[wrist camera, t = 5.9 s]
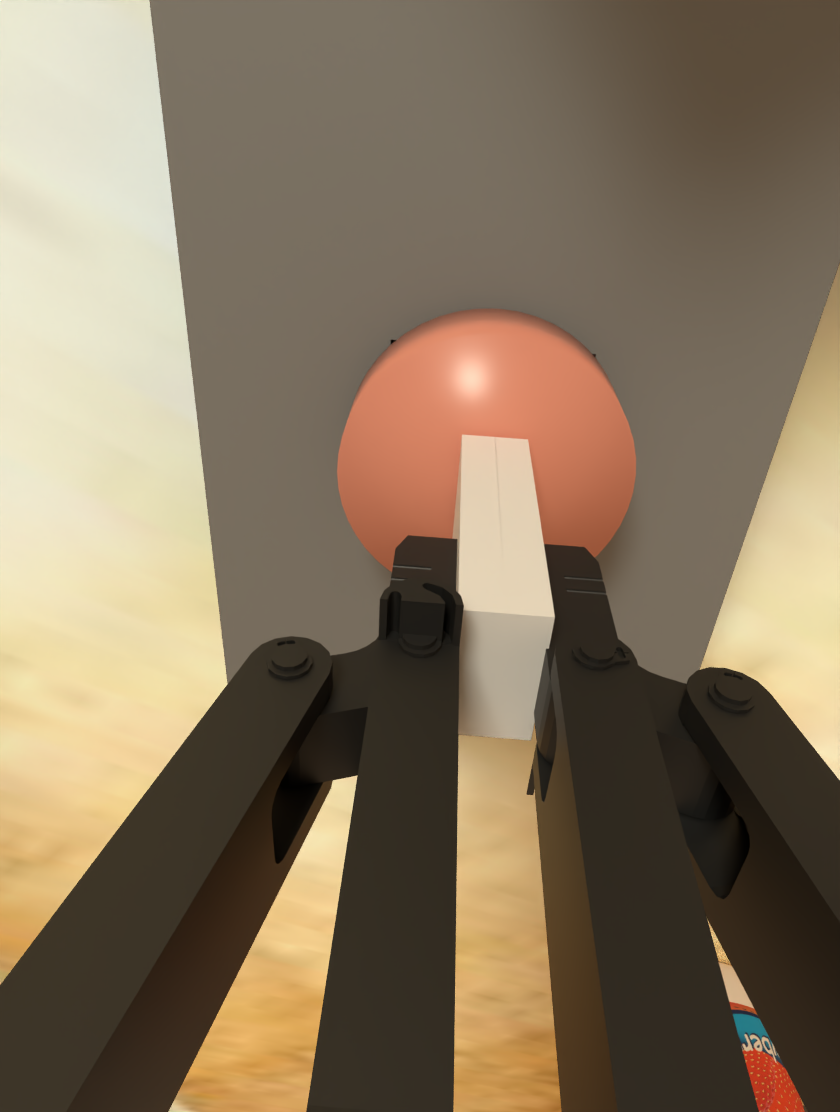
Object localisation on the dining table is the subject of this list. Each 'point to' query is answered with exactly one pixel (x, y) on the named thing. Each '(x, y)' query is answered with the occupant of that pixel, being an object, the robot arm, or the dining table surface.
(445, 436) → the button
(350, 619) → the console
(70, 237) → the dining table surface
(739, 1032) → the fruit juice
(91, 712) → the dining table surface
